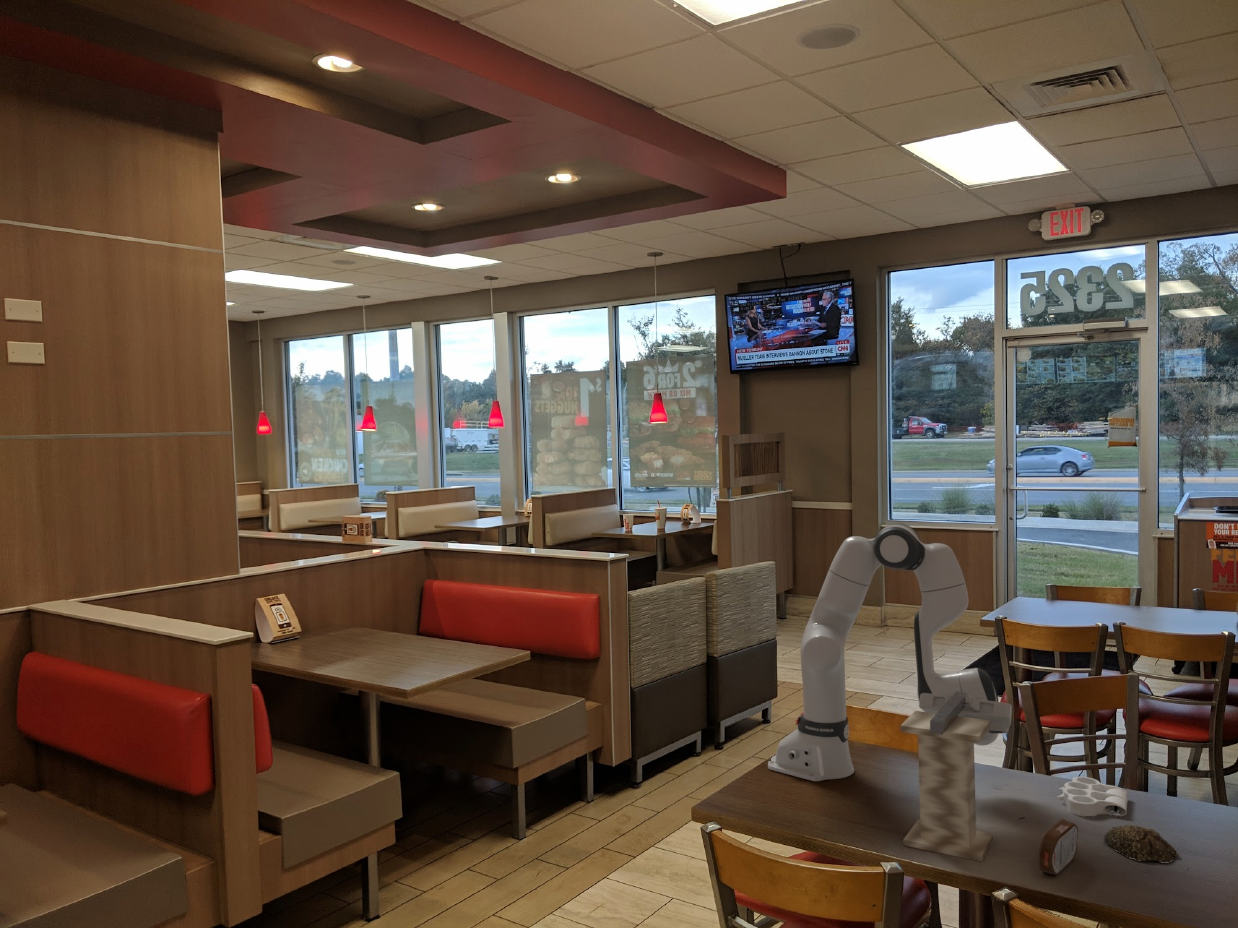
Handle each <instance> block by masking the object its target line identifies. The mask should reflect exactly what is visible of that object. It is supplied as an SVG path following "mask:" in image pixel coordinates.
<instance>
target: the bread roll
mask: <svg viewBox="0 0 1238 928" xmlns="http://www.w3.org/2000/svg"><path fill="white" fill-rule="evenodd" d="M1111 828H1112V829H1109V830H1108V831H1107V832H1106V833H1105V834H1104V842H1105V843H1106V844H1108V845H1109V846H1110V848H1111V847H1112V848H1113V849H1115V850H1117V851H1118V852H1120V853H1123V854H1124V855H1126V856H1128V857H1131V858H1135V859H1136V860H1141V861H1140V862H1149V861H1150V862H1151V861H1154V862H1159V863H1160V862H1170V861H1171V860H1172V857H1173V858H1175V857H1174V856H1176V857H1177V855H1178V853H1177V850H1176V849H1175V848H1174V847H1173V845H1171V844H1170V843H1168V841H1167V840H1165V839H1164V838H1163V837H1162V836H1161V834H1160V833H1159V832H1157V831H1156V830H1155V829H1154V828H1146V827H1143V826H1138V825H1130V824H1127V825H1119V826H1115V827H1114V826H1113V827H1111ZM1108 845H1107V846H1108ZM1109 846H1108V847H1109ZM1112 848H1111V849H1112ZM1113 849H1112V850H1113ZM1115 850H1114V851H1115ZM1120 853H1119V854H1120ZM1123 854H1122V855H1123ZM1124 855H1123V856H1124ZM1126 856H1125V857H1126ZM1128 857H1127V858H1128ZM1172 861H1173V860H1172ZM1170 863H1171V862H1170Z"/></svg>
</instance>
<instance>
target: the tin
mask: <svg viewBox="0 0 1238 928" xmlns="http://www.w3.org/2000/svg"><path fill="white" fill-rule="evenodd" d="M1078 837H1079V827H1078V825H1077V824H1076V823H1074V822H1072V821H1069V820H1066V819H1063V818H1062V819H1060V820H1059V821H1058V822H1056V823H1055V824H1054V825H1052V827H1050V828H1049V829H1047V830H1046V831H1045V834H1044V835H1043V837H1042V839H1041V840H1042V841H1041V843H1040V847H1039V851H1038V852H1039V853H1038V867H1039V869H1040V871H1041V872H1042V873H1047V874H1049V875H1052V876H1058V875H1059V874H1060V873H1061V872H1063V871H1064V869H1066V868H1067V867H1068V866H1069V865H1070V864H1071V863H1072V862H1073V861H1072V860H1074V859H1075V857H1076V854H1077V851H1078ZM1070 862H1071V863H1070ZM1069 863H1070V864H1069ZM1067 865H1068V866H1067ZM1066 866H1067V867H1066Z"/></svg>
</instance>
